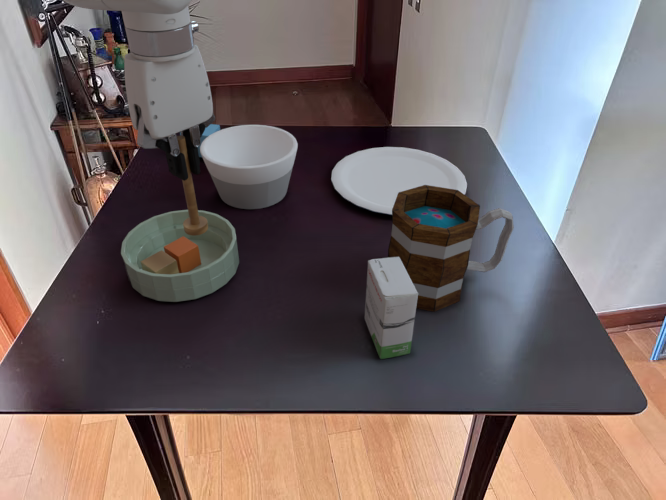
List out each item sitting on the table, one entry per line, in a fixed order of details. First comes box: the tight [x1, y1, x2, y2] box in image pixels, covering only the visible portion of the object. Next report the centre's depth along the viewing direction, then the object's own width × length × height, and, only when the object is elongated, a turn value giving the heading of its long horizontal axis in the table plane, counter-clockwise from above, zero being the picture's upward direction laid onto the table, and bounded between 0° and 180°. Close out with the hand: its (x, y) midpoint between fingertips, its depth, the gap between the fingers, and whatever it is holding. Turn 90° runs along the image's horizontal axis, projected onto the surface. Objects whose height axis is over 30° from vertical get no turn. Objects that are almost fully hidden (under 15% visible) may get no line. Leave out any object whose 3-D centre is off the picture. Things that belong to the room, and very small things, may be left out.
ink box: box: [364, 257, 418, 360], centre depth 73 cm, size 9×5×12 cm, turn 13°
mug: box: [387, 185, 515, 312], centre depth 82 cm, size 20×14×15 cm
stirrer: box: [176, 135, 208, 236], centre depth 74 cm, size 4×4×15 cm
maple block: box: [141, 250, 179, 274], centre depth 83 cm, size 4×4×4 cm
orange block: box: [164, 236, 201, 273], centre depth 86 cm, size 4×4×4 cm
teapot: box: [179, 123, 221, 158], centre depth 119 cm, size 12×6×8 cm, turn 80°
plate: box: [330, 146, 468, 216], centre depth 111 cm, size 29×29×2 cm
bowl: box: [200, 124, 299, 210], centre depth 105 cm, size 19×19×11 cm
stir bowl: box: [120, 209, 240, 303], centre depth 86 cm, size 18×18×6 cm
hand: (185, 173), depth 73 cm, fingers closed on stirrer, 1 cm apart
